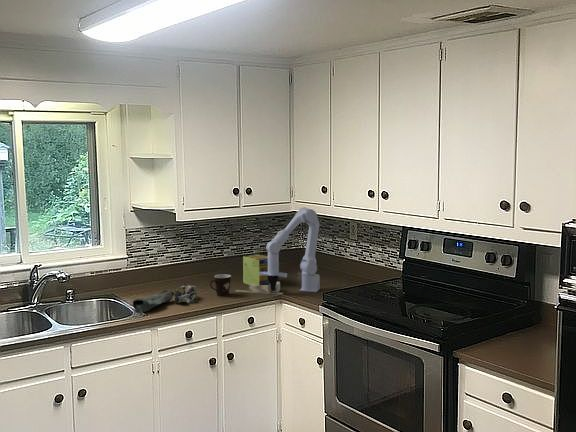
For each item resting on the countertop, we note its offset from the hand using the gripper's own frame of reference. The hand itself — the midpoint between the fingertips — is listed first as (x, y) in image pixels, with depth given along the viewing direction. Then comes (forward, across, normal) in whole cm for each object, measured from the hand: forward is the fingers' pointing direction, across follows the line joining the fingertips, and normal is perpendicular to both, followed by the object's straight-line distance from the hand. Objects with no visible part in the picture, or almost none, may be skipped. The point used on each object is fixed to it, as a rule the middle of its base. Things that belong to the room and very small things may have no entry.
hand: (273, 290), depth 328 cm
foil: (+2, -38, -25) cm, 45 cm away
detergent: (+2, -49, -38) cm, 61 cm away
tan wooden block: (+2, -7, 0) cm, 8 cm away
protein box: (+2, -14, +18) cm, 23 cm away
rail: (+2, -8, 0) cm, 8 cm away
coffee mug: (+2, -26, -10) cm, 28 cm away
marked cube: (+2, -1, +6) cm, 6 cm away
